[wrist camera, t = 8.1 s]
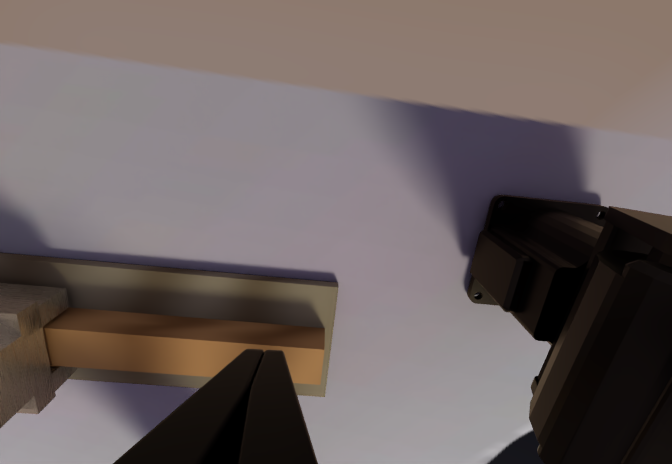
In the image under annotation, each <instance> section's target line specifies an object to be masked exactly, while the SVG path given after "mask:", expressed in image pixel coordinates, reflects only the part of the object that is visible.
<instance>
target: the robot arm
mask: <svg viewBox="0 0 672 464" xmlns="http://www.w3.org/2000/svg"><path fill="white" fill-rule="evenodd" d="M501 201H504V205H503V207H501V208H499V207H498V205H499V203H500V202H501ZM598 212H600V215H599V216H598V217H596V215H597V213H598ZM470 273H471V274H472V277H471V280H470V284H469V288H468V292H467V295H468V297H469V299H470V300H471V301H472V302H473V303H478V304H489V305H499V306H500V307H501V308H502V309H503V310H504V311H505V312H510V313H511V314H512V315H513V316H514V317H515V318H516V319H517V320H518V321H519V322H520V324H521V325H522V326H523V327H524V328H525V329H526V330H527V331H528V332H529V333H530V334H531V335H532V337H533V338H534V339H535V340H538V341H547V342H548V343H549V344H550V345H551V348H550V350H549V352H548V355H547V357H546V359H545V362H544V364H543V366H542V368H541V371H540V373H539V375H538V376H536V377H535V378H534V380H533V382H532V385H531V390H532V393H533V397H532V400H531V402H530V413H529V419H530V422H531V425H532V427H533V430H534V433H535V435H536V438H537V441H538V442H539V444H540V445H539V447H538V450H537V452H538V455H539V457H540V458H541V460H542V461H543V462H544V464H672V216H666V215H660V214H654V213H648V212H643V211H637V210H631V209H625V208H619V207H613V206H609V208H607V207H604V206H601V205H596V204H587V203H577V202H568V201H558V200H549V199H539V198H530V197H520V196H511V195H497V196H495V197H494V198H493V199H492V201H491V204H490V207H489V211H488V215H487V219H486V223H485V227H484V230H483V231H482V232H480V234H479V238H478V242H477V246H476V250H475V254H474V258H473V262H472V265H471V269H470ZM477 292H480V294H479V295H478V296H474V295H475V293H477ZM113 464H318V463H317V459H316V456H315V453H314V450H313V446H312V443H311V440H310V436H309V433H308V430H307V427H306V423H305V420H304V417H303V413H302V410H301V407H300V404H299V400H298V397H297V394H296V391H295V387H294V384H293V381H292V377H291V374H290V371H289V368H288V364H287V361H286V358H285V354H284V352H283V351H282V350H266V351H265V352H264V350H262V349H246V350H244V351H243V352H242V353H241V354H239V355H238V356H237V357H236V358H235V359H234V360H232V361H231V362H230V363H229V364H228V365H227V366H225V367H224V368H223V369H222V370H221V371H220V372H219V373H217V374H216V375H215V376H214V377H213V378H212V379H210V380H209V381H208V382H207V383H206V384H205V385H203V386H202V387H201V388H200V389H199V390H198V391H197V392H195V393H194V394H193V395H192V396H191V397H190V398H188V399H187V400H186V401H185V402H184V403H183V404H181V405H180V406H179V407H178V408H177V409H176V410H175V411H173V412H172V413H171V414H170V415H169V416H168V417H166V418H165V419H164V420H163V421H162V422H161V423H159V424H158V425H157V426H156V427H155V428H154V429H153V430H151V431H150V432H149V433H148V434H147V435H146V436H144V437H143V438H142V439H141V440H140V441H139V442H137V443H136V444H135V445H134V446H133V447H132V448H131V449H129V450H128V451H127V452H126V453H125V454H124V455H122V456H121V457H120V458H119V459H118V460H117V461H115V462H114V463H113Z"/></svg>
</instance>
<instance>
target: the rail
mask: <svg viewBox="0 0 672 464" xmlns="http://www.w3.org/2000/svg"><path fill="white" fill-rule="evenodd" d="M0 283H11V284H23V285H34V286H46V287H58V288H66V291H67V297H68V303H69V308H67V309H66V310H64V311H63V312H62V313H60V314H59V315H58V316H56V317H55V318H54V319H52V320H51V321H49V322H48V323H47V324H45V325H44V326H43V327H42V328H43V333H44V338H45V343H46V348H47V353H48V358H49V364H50V365H51V366H65V367H79V368H78V369H77V370H76V371H75V372H74V373H73V374H72V375H71V376H70V377H69V378H68V379H76V380H91V381H105V382H119V383H133V384H148V385H162V386H176V387H190V388H201V387H202V386H203V385H205V384H206V383H207V382H208V381H209V380H210V379H212V378H213V377H214V376H215V375H216V374H217V373H219V372H220V371H221V370H222V369H223V368H224V367H225V366H227V365H228V364H229V363H230V362H231V361H232V360H234V359H235V358H236V357H237V356H238V355H239V354H241V353H242V352H243V351H244V350H246V349H262V350H264V352H265V351H266V350H282V351H283V352H284V354H285V358H286V361H287V364H288V368H289V371H290V374H291V377H292V381H293V384H294V387H295V391H296V394H297V395H305V396H319V397H325V390H326V382H327V374H328V366H329V358H330V350H331V342H332V334H333V326H334V318H335V310H336V302H337V293H338V283H336V282H325V281H314V280H302V279H291V278H280V277H268V276H257V275H246V274H235V273H223V272H212V271H201V270H189V269H178V268H167V267H156V266H144V265H133V264H122V263H110V262H99V261H88V260H76V259H65V258H54V257H43V256H31V255H20V254H9V253H0Z"/></svg>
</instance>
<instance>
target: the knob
mask: <svg viewBox="0 0 672 464" xmlns="http://www.w3.org/2000/svg"><path fill="white" fill-rule="evenodd" d="M67 308H69V303H68V297H67V291H66V288H58V287H46V286H34V285H23V284H11V283H0V428H1V427H2V426H3V425H4V424H5V423H6V422H7V421H8V420H10V419H11V418H12V417H13V416H14V415H15V414H16V413H30V414H39V413H40V412H41V411H42V410H43V409H44V408H45V407H46V406H47V405H48V404H49V403H50V402H51V401H52V400H53V399H54V397H55V396H56V394H55V391H56V390H57V389H58V388H59V387H60V386H61V385H62V384H63V383H64V382H65V381H66V380H67V379H68V378H69V377H70V376H71V375H72V374H73V373H74V372H75V371H76V370H77V369H78V368H79V367H65V366H51V365H50V364H49V358H48V353H47V348H46V343H45V338H44V333H43V328H42V327H43V326H44V325H45V324H47V323H48V322H49V321H51V320H52V319H54V318H55V317H56V316H58V315H59V314H60V313H62V312H63V311H64V310H66V309H67Z"/></svg>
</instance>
